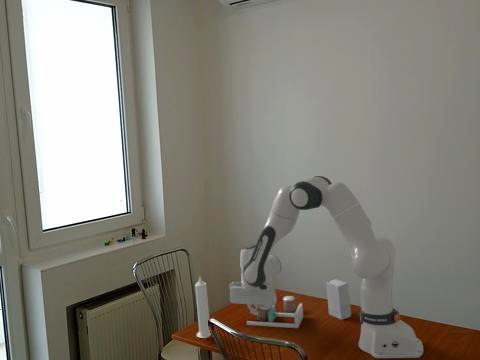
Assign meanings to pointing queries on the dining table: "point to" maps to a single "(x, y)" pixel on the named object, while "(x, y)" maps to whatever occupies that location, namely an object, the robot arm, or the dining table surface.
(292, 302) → the jar
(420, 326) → the dining table surface
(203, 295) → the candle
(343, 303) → the skincare box
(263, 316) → the jar front
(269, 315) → the plate
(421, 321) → the dining table surface
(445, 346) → the dining table surface
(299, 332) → the dining table surface
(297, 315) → the lane
